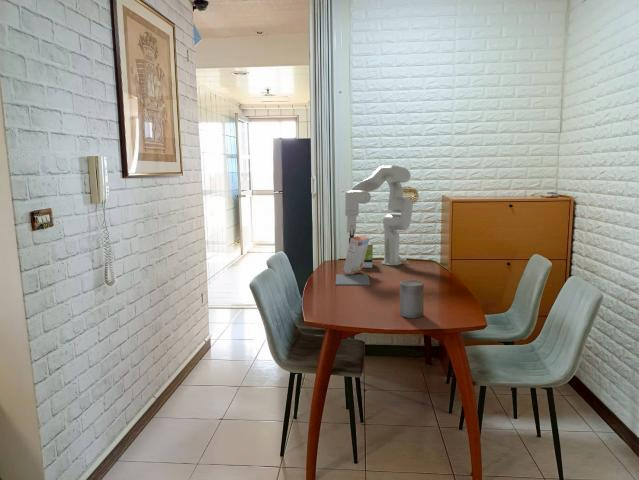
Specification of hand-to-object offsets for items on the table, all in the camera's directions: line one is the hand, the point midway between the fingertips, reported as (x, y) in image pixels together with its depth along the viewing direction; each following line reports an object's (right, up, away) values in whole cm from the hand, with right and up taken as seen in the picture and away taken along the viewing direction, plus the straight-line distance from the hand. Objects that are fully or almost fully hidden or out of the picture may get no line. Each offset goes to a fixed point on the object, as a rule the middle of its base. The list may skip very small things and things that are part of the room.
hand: (351, 244), depth 269 cm
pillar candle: (+19, -28, -76) cm, 83 cm away
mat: (-1, -19, -14) cm, 24 cm away
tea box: (+9, -14, +26) cm, 31 cm away
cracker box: (0, -16, +1) cm, 16 cm away
